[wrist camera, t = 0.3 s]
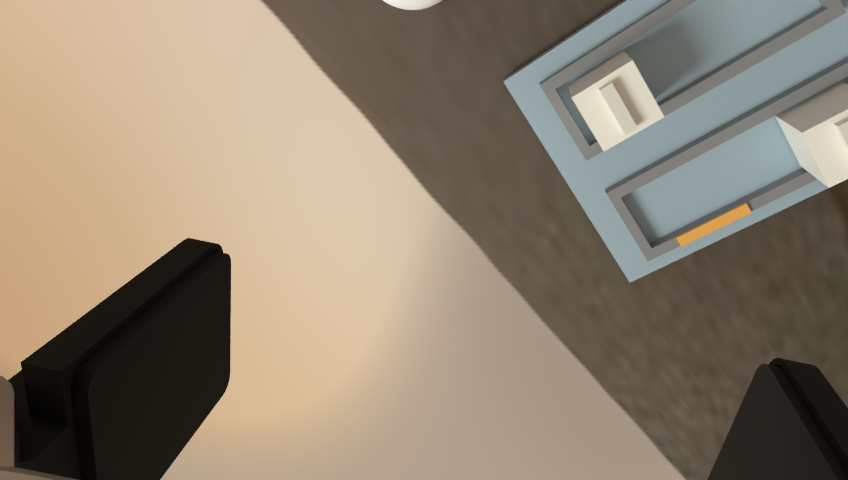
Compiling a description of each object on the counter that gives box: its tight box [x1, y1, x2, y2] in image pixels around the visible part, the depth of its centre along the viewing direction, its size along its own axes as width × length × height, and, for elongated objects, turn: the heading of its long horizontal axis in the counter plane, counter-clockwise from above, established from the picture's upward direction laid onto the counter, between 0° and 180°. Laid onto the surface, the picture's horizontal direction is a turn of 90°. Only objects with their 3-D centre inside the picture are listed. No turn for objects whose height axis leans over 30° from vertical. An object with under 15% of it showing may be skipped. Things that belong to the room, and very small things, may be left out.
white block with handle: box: [568, 50, 664, 151], centre depth 38 cm, size 4×4×5 cm
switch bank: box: [503, 0, 848, 282], centre depth 40 cm, size 18×22×2 cm
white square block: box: [775, 81, 848, 188], centre depth 37 cm, size 4×4×5 cm
